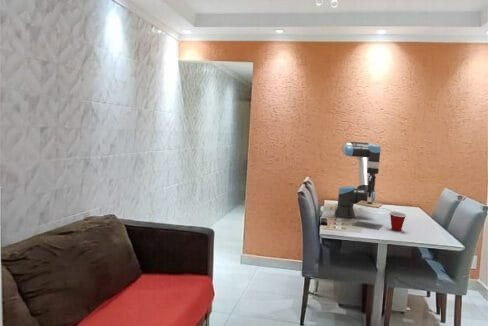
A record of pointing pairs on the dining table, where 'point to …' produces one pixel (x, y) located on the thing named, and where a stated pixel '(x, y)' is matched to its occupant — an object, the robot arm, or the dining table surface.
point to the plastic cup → (397, 220)
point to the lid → (369, 203)
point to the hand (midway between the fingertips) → (369, 201)
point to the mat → (367, 225)
